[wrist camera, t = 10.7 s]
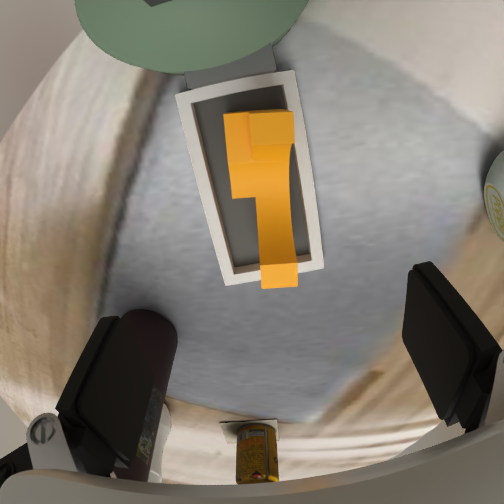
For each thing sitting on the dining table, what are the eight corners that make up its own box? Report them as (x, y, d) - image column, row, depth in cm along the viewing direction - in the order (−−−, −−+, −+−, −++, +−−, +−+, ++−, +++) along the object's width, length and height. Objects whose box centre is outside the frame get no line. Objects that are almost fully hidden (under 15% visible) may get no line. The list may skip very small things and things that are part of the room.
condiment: (279, 439, 45) (283, 503, 34) (227, 442, 45) (224, 505, 34) (276, 418, 41) (281, 490, 31) (219, 421, 42) (214, 492, 31)
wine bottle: (190, 332, 33) (146, 622, 7) (158, 362, 36) (109, 603, 9) (136, 296, 31) (35, 592, 4) (109, 331, 34) (23, 574, 7)
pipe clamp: (226, 112, 23) (219, 116, 17) (282, 108, 23) (293, 111, 17) (239, 249, 28) (237, 290, 23) (287, 246, 28) (297, 286, 23)
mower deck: (280, -97, 13) (290, -152, 5) (351, 254, 29) (383, 312, 21) (93, -51, 15) (45, -84, 7) (177, 285, 30) (156, 349, 22)
